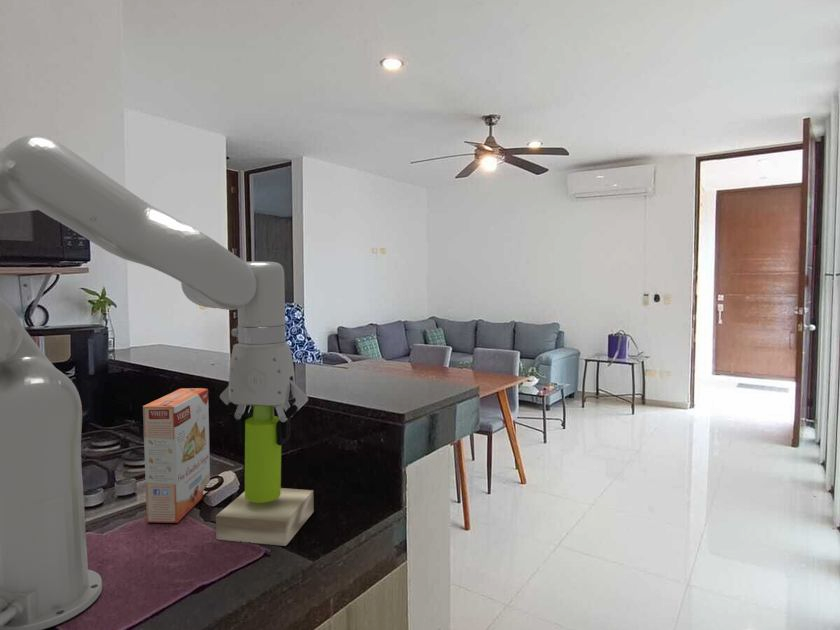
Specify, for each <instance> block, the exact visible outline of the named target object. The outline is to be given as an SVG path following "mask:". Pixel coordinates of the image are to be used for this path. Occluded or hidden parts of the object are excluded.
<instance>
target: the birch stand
mask: <svg viewBox="0 0 840 630" xmlns="http://www.w3.org/2000/svg"><path fill="white" fill-rule="evenodd" d="M314 504H315V503H314V490H313V489H311V490H310V489H302V488H301V489H298V488H286V487H285V488H284V487H281V494H280V496H279V497H278V498H277V499H275V500H273V501H269V502H263V503H255V502H250V501H248V500H246V499H245V491H243V492H242V493H241V494H240V495H239V496H238V497H236V498H235V499H234V500H232V501H231V502H230V503H229V504H228V505H227V506H225V507H224V508H222V510H221V511H220V512H218V513H217V514H216V515H215V531H216V533H215V534H216V540H220V541H230V542H240V541H241V542H242V543H249V542H250V543H249V544H251V543H252V544H261V545H262V544H263V545H272V546H280V547H281V546H284V547H286V546H287V545H288V544H289V543H290V542H291V541H292V539H293V538H294V537H295V535H296V534H297V533H298V532H299V531H300V529H301V528H302V527H303V525H304V524H305V523H306V522H307V520H308V519H309V518H310V517H311V516H312V514H314V512H315V509H314Z"/></svg>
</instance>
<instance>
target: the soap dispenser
mask: <svg viewBox="0 0 840 630" xmlns="http://www.w3.org/2000/svg"><path fill="white" fill-rule="evenodd" d="M278 421H279V416H275V407H271V406H252V417H251V418H248V419H247V420H246V421H245V442H244V492H245V499H246V500H248V501H250V502H255V503H263V502H269V501H273V500H275V499H277V498H278V497H279V496H280V494H281V488H282V486H281V484H282V445H278V444H277V422H278Z"/></svg>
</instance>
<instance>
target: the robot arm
mask: <svg viewBox="0 0 840 630" xmlns="http://www.w3.org/2000/svg"><path fill="white" fill-rule="evenodd" d="M30 211H33V212H34V211H40V212H42V213H43V214H45V215H46V216H48V217H49V218H52V219H53V220H55V221H57V222H58V223H60V224H62V225H63V226H66V227H67V228H69V229H70V230H72V231H73V232H75V233H77V234H78V235H81V237H84V238H85V239H86V240H88V241H89V242H91V243H93V244H94V245H97V246H98V247H99V248H101V249H103V250H104V251H106V252H108V253H110V254H112V255H114V256H116V257H118V258H121V259H122V260H126V261H128V262H129V261H130V262H133V263H136V264H139V265H142V266H146V267H150V268H152V269H153V270H154V269H155V270H157V271H158V272H160V273H163V274H165V275H167V276H169V277H172V278H173V279H175V280H176V281H178V282H180V284H181V289H182V292H183V294H184V296H185V297H186V298H187V299H188V300H189V301H190V302H192V303H193V304H195V305H197V306H200V307H203V308H211V309H219V310H224V311H225V310H226V311H227V310H228V311H234V310H237V326H236V328H232V329H231V336H232V337H236V338H237V342H238V343H236V344H233V346H232V347H233V348H232V351H231V356H230V364H229V365H230V366H229V373H228V374H229V376H228V386H227V387H226V388H225V389H224V390H223V391H222V392H221V393H220V394H219V398H220V400H221V401H222V402H223V403H224V404H225V405H227V408H228V409H229V410H230V411H231V412H232V414H234V418H235V420H237V432H238V433H237V434H238V437H239V443H241V444H245V421H246V420H247V419H248V418H251V417H253V415H252V414H250V410H251V409H252V407H253V406H271V407H274V409H275V410H276V411H275V412H276V414H277V417H279V421H278V422H277V444H278V445H281V446H283V445H284V444H285V443H287V442H288V441H289V440H290V437H291V418H292V417H294V415H296V413H297V412H298V411H299V410H300V409H301V408H302V407H303V406H304V405H305V404H307V402H308V401H309V397H308V396H307V395H306V393H305V392H304V391H303V389H301V388H300V387H299V386H298V385H297V384H296V379H295V377H296V376H295V367H294V361H293V360H294V359H293V355H292V351H291V346H290V343H289V342H287V343H286V339H287V338H286V301H285V299H286V298H285V295H286V293H285V269H284V267H283V265H282V264H281V263H280V262H275V261H244V260H242V259H241V258H240V257H239V256H237V255H236V254H234V253H233V252H231V251H230V250H229V249H227V248H226V247H224V246H223V245H222V244H220V243H219V242H218V241H216V240H214V239H213V238H212V237H210V236H209V235H207V234H205V233H203V232H201V231H199V230H198V229H196V228H194V227H192V226H190V225H189V224H187V223H185V222H182V221H181V220H179V219H177V218H175V217H174V216H172V215H170V214H169V213H167V212H165V211H163V210H161V209H159V208H157V207H154V206H153V205H151V204H150V203H148V202H147V201H145V200H144V199H141V198H140V197H139V196H137V195H136V194H134V192H132V191H130V190H128V189H127V188H125V187H124V186H123V185H122V184H120V183H118V182H117V181H115V180H114V179H112V178H111V177H110V176H108V175H107V174H105V173H104V172H103V171H101V170H100V169H98V168H97V167H96V166H94V165H93V164H91V163H89V162H88V161H87V160H86V159H84V158H82V157H81V156H80V155H78V154H77V153H75V152H74V151H72V150H71V149H69V148H68V147H66V146H65V145H63V144H61V143H60V142H58V141H56V140H54V139H51V138H50V137H49V138H48V137H46V136H42V135H41V136H40V135H26V136H23V137H19V138H17V139H15V140H13V141H11V142H9V144H7V145H6V146H5V147H0V214H13V213H21V212H30ZM293 399H295V401H294V402H293V404H292V405H291V404H290V403H289V401H291V400H293ZM82 407H83V405H82V400H81V397H80V394H79V391H78V389H77V386H76V385H75V383H74V382H73V381H72V380H71V378H70V377H68V376H67V375H66V374H65V373H63V372H62V371H61V370H59V369H58V368H56V367H55V366H54V364H53V363H52V362H51V360H50V359H48V357H47V356H46V354H45V353H44V352H43V351H42V349H41V348H40V347H39V345H38V344H37V343H36V342H35V340H34V339H33V337H32V336H31V335H30V334H29V332H28V331H27V330H26V329H25V327H24V326H23V325H22V322H21V320H20V317H19V316H18V314H17V312H16V311H15V309H14V308H12V306H11V305H10V304H8V302H6V301H5V300H4V299H3V298H2V297H1V296H0V630H46V629H49V628H51V627H55V626H56V625H59V624H61V623H64V622H66V621H69V620H70V619H72V618H74V617H76V616H78V615H79V614H81V613H82V612H84V611H85V610H87V609H88V608H89V607H91V605H92V604H94V602H96V600H97V599H98V598H99V596H100V595H101V593H102V590H103V579H102V577H101V576H102V575H100V574H99V573H98V572H96V571H95V570H92V569H89V567H88V566H89V565H88V551H87V536H86V516H85V502H84V486H83V485H84V483H83V471H82V443H81V442H82V428H83V427H82V425H83V408H82Z"/></svg>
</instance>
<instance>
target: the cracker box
mask: <svg viewBox="0 0 840 630" xmlns="http://www.w3.org/2000/svg"><path fill="white" fill-rule="evenodd" d="M209 408H210V406H209V389H208V388H205V387H204V388H203V387H200V388H199V387H195V388H193V387H191V388H189V387H188V388H186V387H185V388H183V387H182V388H178V389H176V390H174V391H172V392H171V393H168V394H166V395H164V396H162V397H160V398H158V399H155V400H153V401H151V402H149V403H147V404H145V405H142V416H143V417H142V418H143V447H144V448H143V449H144V475H145V476H144V477H145V479H144V480H145V506H146V522H147V523H159V524H160V523H163V524H164V523H165V524H166V523H167V524H169V523H170V524H178V523H179V522H180V521H181V520H182V519H183V518H184V517H185V516H186V515H187V514H188V513H189V512H190V511H191V510H192V509H193V508H194V507H195V506H196V505H197V504H199V502H200V501H201V500H202V499H203V498H202V494H203V491H204V489H205V487H206V486H207V484H208V483H209V482H210V483H211V468H210V467H211V466H210V465H211V464H210V463H211V462H210V461H211V460H210V459H211V457H210V421H209V420H210V418H209Z"/></svg>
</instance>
